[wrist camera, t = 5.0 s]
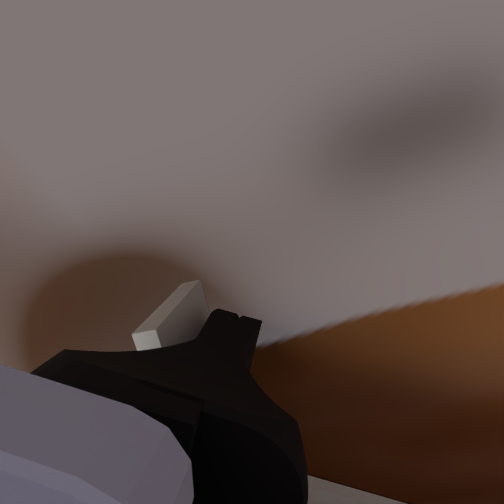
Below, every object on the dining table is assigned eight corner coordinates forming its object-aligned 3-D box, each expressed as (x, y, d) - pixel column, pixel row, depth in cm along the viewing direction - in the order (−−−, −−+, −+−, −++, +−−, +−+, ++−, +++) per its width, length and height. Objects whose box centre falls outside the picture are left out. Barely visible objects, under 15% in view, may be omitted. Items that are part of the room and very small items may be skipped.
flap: (251, 450, 13) (231, 559, 10) (232, 453, 14) (206, 561, 10) (201, 278, 12) (157, 329, 8) (181, 283, 12) (129, 334, 9)
